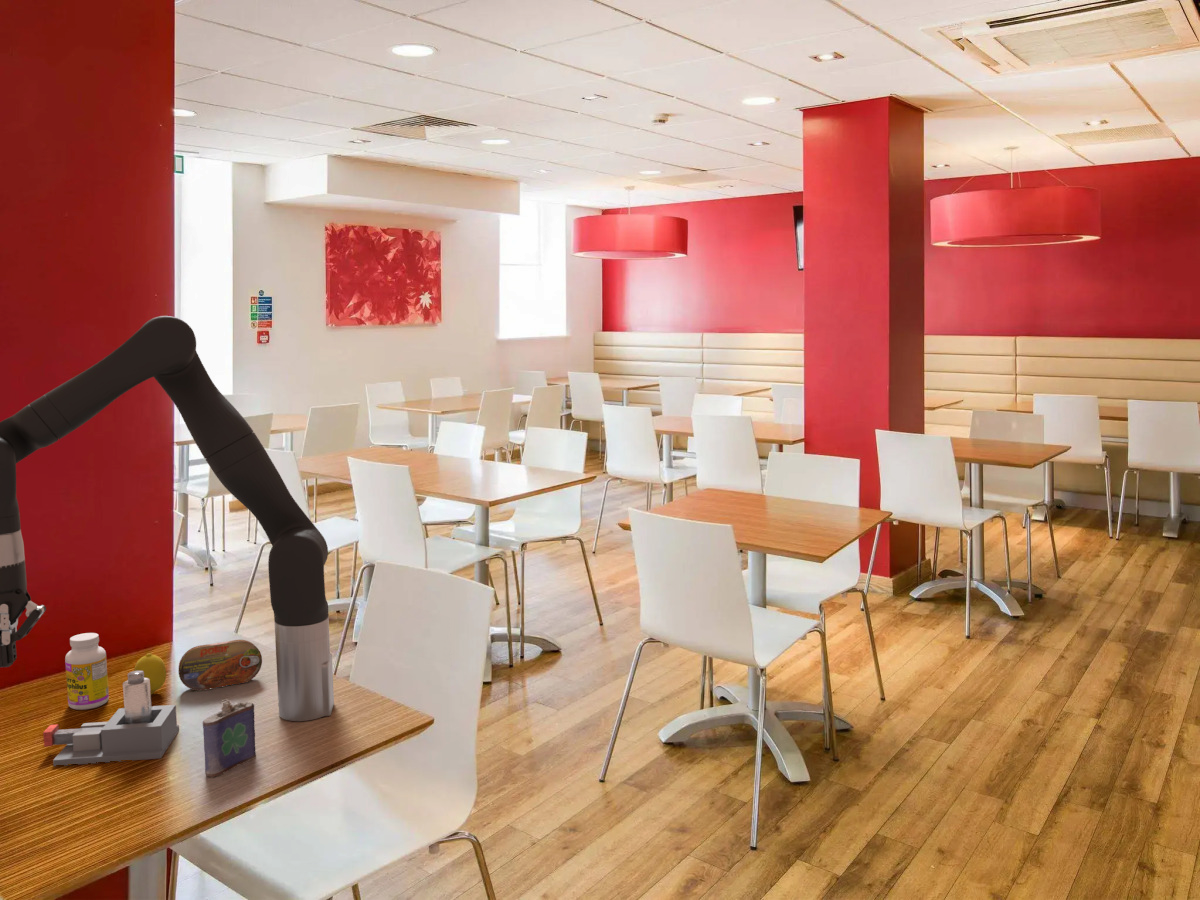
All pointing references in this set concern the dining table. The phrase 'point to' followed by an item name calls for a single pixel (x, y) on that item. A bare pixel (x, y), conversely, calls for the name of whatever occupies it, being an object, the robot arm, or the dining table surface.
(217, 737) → the flask
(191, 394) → the robot arm
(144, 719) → the salt shaker
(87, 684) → the supplement bottle
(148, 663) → the lemon
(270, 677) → the dining table surface
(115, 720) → the mount
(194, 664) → the tin
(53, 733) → the lock pin
